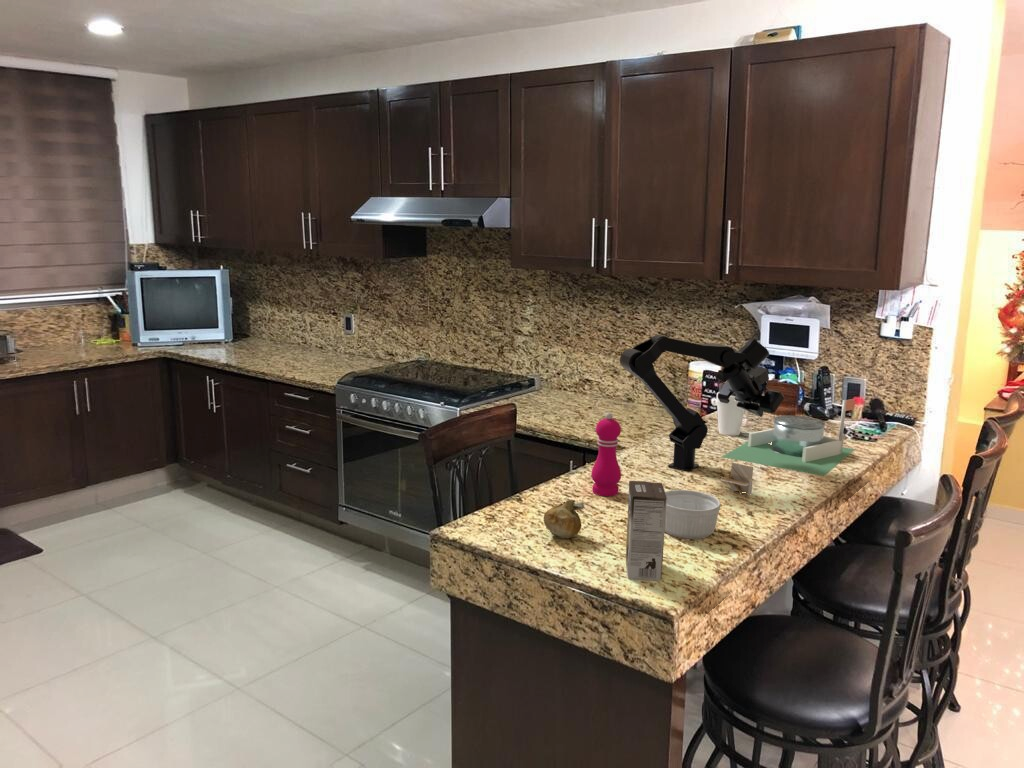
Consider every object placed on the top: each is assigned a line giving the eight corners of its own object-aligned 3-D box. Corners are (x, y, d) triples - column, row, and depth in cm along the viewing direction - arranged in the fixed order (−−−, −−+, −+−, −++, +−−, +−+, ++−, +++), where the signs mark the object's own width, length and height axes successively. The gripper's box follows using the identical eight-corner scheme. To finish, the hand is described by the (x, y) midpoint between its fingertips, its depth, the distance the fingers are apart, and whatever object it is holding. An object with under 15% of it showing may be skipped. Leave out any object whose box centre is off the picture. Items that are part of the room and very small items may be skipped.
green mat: (824, 476, 211) (824, 476, 211) (721, 457, 227) (721, 456, 227) (855, 449, 239) (855, 449, 239) (761, 434, 255) (761, 433, 255)
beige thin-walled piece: (804, 462, 224) (810, 406, 221) (747, 446, 240) (752, 394, 237) (850, 451, 236) (856, 399, 233) (793, 437, 252) (798, 387, 249)
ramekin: (730, 539, 166) (732, 507, 165) (673, 544, 162) (675, 512, 161) (698, 517, 179) (700, 487, 177) (645, 522, 175) (646, 491, 174)
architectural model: (745, 499, 193) (747, 470, 191) (719, 493, 197) (721, 464, 196) (751, 496, 195) (754, 467, 194) (725, 490, 200) (727, 461, 198)
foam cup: (747, 437, 251) (750, 397, 248) (718, 437, 251) (721, 396, 248) (739, 430, 260) (742, 391, 258) (711, 429, 260) (714, 390, 258)
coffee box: (624, 559, 154) (628, 479, 151) (657, 561, 154) (662, 481, 151) (626, 579, 145) (631, 495, 142) (662, 581, 145) (667, 497, 142)
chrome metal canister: (812, 459, 226) (815, 429, 225) (764, 450, 235) (766, 421, 233) (828, 450, 237) (831, 421, 235) (782, 441, 246) (784, 413, 244)
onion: (550, 527, 170) (551, 491, 169) (586, 533, 167) (587, 497, 166) (537, 539, 163) (539, 502, 162) (574, 545, 160) (576, 508, 159)
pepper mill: (603, 485, 199) (606, 408, 195) (626, 492, 194) (630, 413, 190) (584, 491, 194) (587, 412, 190) (607, 499, 189) (611, 417, 185)
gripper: (782, 362, 212) (803, 399, 221) (727, 354, 227) (748, 388, 235) (762, 394, 209) (784, 430, 217) (706, 383, 224) (729, 417, 232)
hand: (761, 415), depth 226 cm, fingers closed
